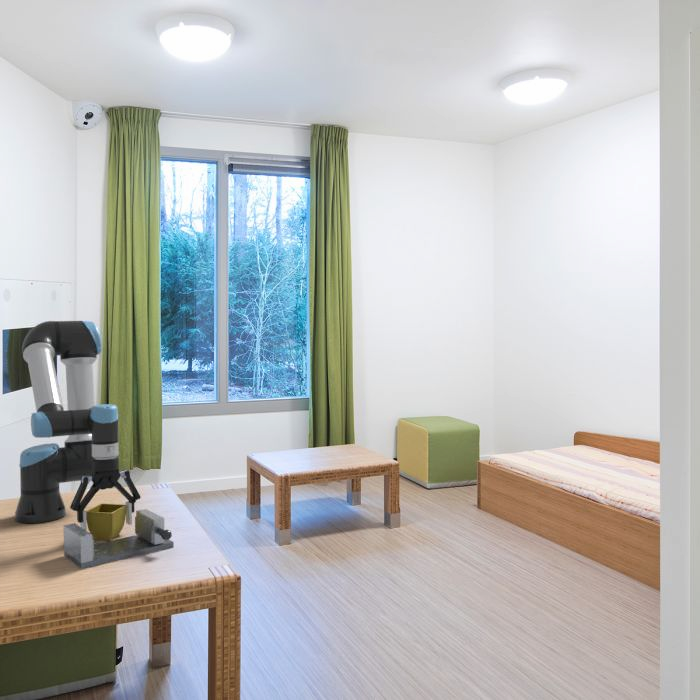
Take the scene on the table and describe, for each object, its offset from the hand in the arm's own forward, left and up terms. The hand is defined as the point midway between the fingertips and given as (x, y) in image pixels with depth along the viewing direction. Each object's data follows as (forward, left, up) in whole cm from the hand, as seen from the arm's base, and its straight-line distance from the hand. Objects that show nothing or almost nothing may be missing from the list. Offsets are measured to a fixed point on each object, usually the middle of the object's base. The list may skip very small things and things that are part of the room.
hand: (106, 528), depth 204 cm
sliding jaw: (+17, +7, -1) cm, 18 cm away
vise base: (+14, -2, -3) cm, 15 cm away
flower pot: (0, 0, -3) cm, 3 cm away
